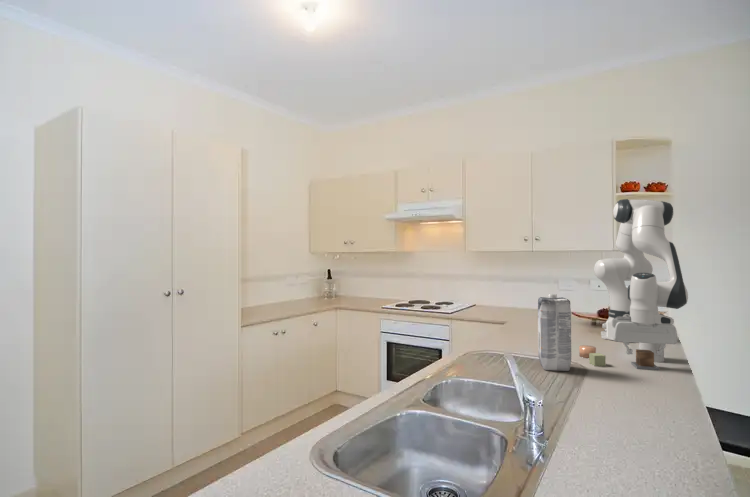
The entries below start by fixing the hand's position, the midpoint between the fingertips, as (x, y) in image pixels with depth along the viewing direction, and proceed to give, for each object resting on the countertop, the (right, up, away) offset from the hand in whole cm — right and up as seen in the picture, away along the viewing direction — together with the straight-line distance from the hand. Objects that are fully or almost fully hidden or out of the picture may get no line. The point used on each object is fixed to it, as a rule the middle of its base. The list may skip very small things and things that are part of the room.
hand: (644, 354), depth 154 cm
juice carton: (-33, -5, -1) cm, 34 cm away
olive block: (-16, -5, +3) cm, 16 cm away
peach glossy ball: (-13, -5, +15) cm, 21 cm away
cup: (+9, -5, +10) cm, 14 cm away
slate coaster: (0, -4, 0) cm, 4 cm away
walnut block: (0, -4, 0) cm, 4 cm away
